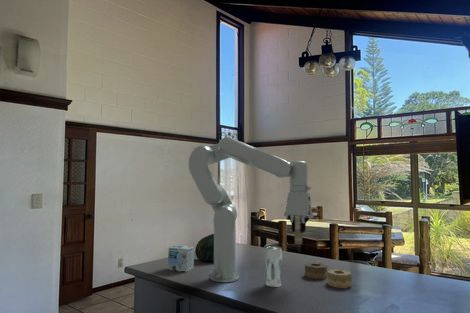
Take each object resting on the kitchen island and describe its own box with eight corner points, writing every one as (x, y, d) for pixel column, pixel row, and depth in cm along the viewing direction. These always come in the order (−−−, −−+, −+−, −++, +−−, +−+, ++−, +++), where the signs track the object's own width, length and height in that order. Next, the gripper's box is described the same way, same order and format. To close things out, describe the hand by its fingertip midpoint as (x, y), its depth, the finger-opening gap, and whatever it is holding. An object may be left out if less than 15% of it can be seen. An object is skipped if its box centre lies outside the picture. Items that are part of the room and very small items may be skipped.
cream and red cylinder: (300, 244, 145) (300, 211, 146) (293, 244, 146) (293, 211, 147) (303, 243, 147) (303, 211, 148) (296, 242, 149) (296, 210, 150)
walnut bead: (323, 280, 147) (323, 268, 147) (303, 277, 152) (302, 265, 152) (328, 275, 155) (328, 264, 155) (309, 272, 159) (309, 261, 160)
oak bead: (352, 288, 136) (352, 275, 136) (329, 287, 137) (329, 274, 138) (348, 281, 145) (348, 269, 145) (326, 280, 146) (326, 268, 147)
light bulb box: (167, 270, 162) (167, 247, 163) (175, 266, 168) (175, 244, 169) (187, 272, 158) (187, 248, 159) (194, 269, 164) (194, 246, 165)
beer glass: (271, 288, 135) (271, 250, 136) (261, 283, 141) (261, 247, 142) (285, 286, 138) (285, 248, 139) (275, 281, 144) (275, 245, 146)
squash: (191, 247, 189) (197, 229, 181) (216, 246, 195) (223, 229, 187) (196, 269, 178) (203, 251, 170) (222, 268, 184) (230, 250, 176)
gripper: (319, 189, 148) (319, 232, 146) (284, 188, 156) (284, 229, 155) (314, 190, 141) (314, 234, 140) (277, 189, 150) (277, 231, 148)
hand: (298, 231), depth 147 cm, fingers closed on cream and red cylinder, 3 cm apart
